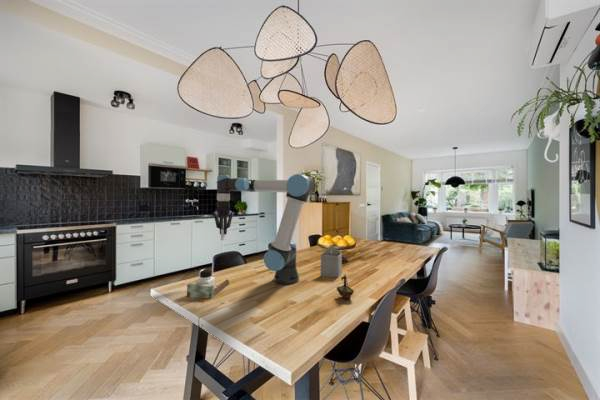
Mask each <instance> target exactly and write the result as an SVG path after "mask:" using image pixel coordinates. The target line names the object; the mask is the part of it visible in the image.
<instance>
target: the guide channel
mask: <svg viewBox="0 0 600 400" xmlns="http://www.w3.org/2000/svg"><path fill="white" fill-rule="evenodd" d="M229 283H230V279H226V280H224V281H223V282H221V283H220V284H219V285H218V286H215V289H214V285H206V284H196V283H188V284H187V285H186V297H187V298H197V299H199V298H200V299H212V298H214V297H215V296H216V295H218V294H219V293H220V292H221V291H222V290H223V289H225V288H226V287H227V286H228V285H230V284H229Z"/></svg>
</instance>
